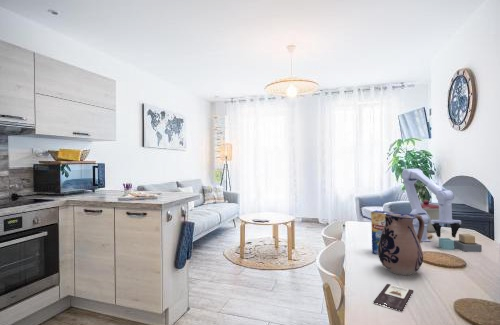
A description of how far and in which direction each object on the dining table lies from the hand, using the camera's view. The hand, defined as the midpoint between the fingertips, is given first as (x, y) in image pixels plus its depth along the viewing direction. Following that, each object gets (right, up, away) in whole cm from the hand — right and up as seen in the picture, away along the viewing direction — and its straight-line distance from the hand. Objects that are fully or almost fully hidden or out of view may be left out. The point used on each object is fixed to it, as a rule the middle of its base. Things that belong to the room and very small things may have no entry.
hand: (446, 236), depth 150 cm
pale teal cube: (0, -6, 0) cm, 6 cm away
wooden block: (+10, -6, -2) cm, 11 cm away
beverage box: (-37, -7, -7) cm, 38 cm away
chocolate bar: (-56, -8, -52) cm, 77 cm away
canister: (+14, -6, +39) cm, 42 cm away
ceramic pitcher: (-40, -7, -29) cm, 50 cm away
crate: (+10, -6, -2) cm, 12 cm away
